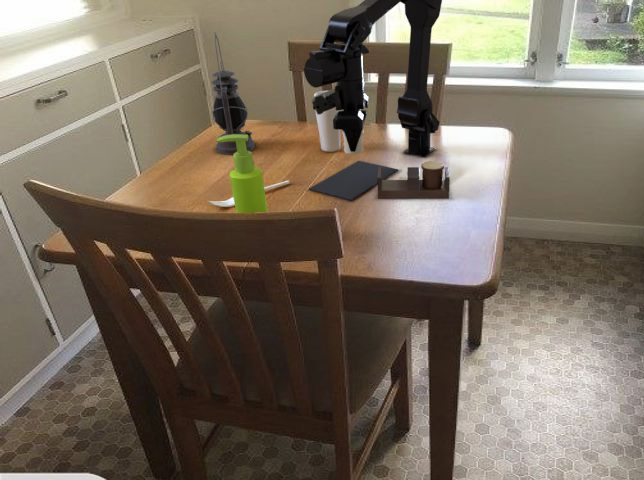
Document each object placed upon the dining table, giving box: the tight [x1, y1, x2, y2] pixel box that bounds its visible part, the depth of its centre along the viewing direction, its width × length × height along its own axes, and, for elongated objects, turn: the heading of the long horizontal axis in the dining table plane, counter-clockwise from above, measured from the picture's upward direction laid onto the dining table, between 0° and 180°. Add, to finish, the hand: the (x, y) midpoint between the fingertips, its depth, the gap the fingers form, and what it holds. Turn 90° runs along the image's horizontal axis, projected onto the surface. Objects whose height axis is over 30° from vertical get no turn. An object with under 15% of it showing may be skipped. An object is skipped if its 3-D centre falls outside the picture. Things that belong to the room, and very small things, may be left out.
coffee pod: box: [341, 129, 365, 155], centre depth 122 cm, size 5×5×5 cm
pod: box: [420, 160, 445, 189], centre depth 117 cm, size 5×5×5 cm
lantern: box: [210, 32, 256, 156], centre depth 140 cm, size 12×11×30 cm
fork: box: [208, 180, 291, 208], centre depth 120 cm, size 3×20×2 cm, turn 131°
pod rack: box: [376, 166, 451, 200], centre depth 119 cm, size 6×16×5 cm, turn 87°
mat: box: [308, 160, 399, 202], centre depth 127 cm, size 20×12×1 cm, turn 147°
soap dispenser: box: [216, 134, 269, 213], centre depth 100 cm, size 6×7×20 cm
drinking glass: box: [313, 90, 342, 153], centre depth 141 cm, size 7×7×15 cm
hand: (353, 147), depth 123 cm, fingers closed on coffee pod, 4 cm apart
